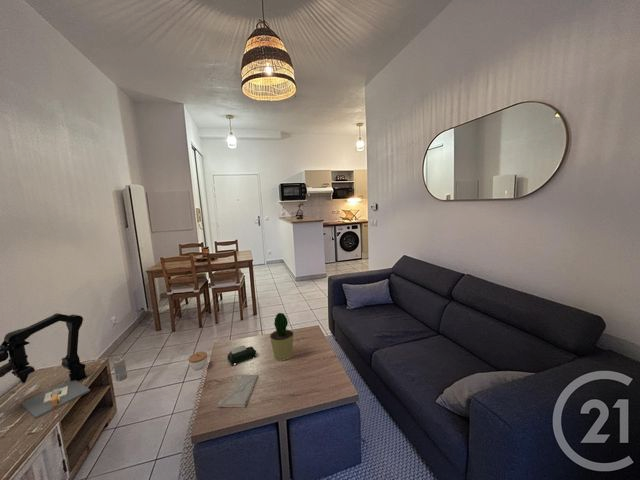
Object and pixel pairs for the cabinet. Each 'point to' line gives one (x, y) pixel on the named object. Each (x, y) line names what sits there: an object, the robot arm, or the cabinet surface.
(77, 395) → the slate board
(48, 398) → the brown white angular piece
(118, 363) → the energy drink
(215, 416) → the cabinet surface
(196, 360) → the lidded jar
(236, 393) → the envelope
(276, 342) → the potted cactus
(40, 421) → the cabinet surface
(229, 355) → the miniature car
